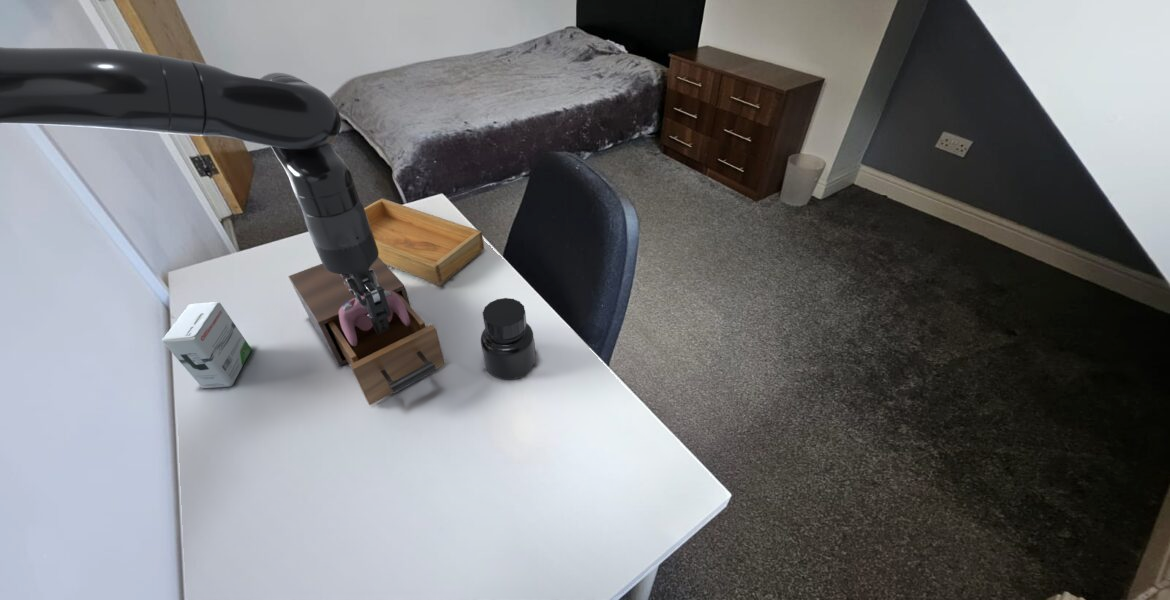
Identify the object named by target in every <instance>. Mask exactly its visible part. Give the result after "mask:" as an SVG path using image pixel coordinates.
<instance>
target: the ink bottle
mask: <svg viewBox="0 0 1170 600" xmlns="http://www.w3.org/2000/svg"><path fill="white" fill-rule="evenodd" d="M482 319H483V325H484V329H483V331H482V333H481V336H480V345H481V351H482V356H483V361H484V367H485V370H487V372H488V373H489V374H490V375H491V376H493V377H495V378H498V379H503V380H515V379H519V378H521V377H524V376H525V375H526V374H528V373H529V372H530V371H531V369H533V367H534V365H535V361H536V343H535V335H534V331H533V328H532V327H531V326H530V325H529V323H527V316H526V309H525V305H524V304H522V302H521V301H520V300H517V299H515V298H508V297H503V298H496V299H495V300H492V301H490V302H489V303H488V304H487V305H486V306H484V308H483V311H482Z"/></svg>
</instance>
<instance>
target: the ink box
mask: <svg viewBox="0 0 1170 600" xmlns="http://www.w3.org/2000/svg"><path fill="white" fill-rule="evenodd" d="M161 342H162V343H163V344H164V345H165V347H166V348H167V349H168V350H169V351H170V352H171V354H172V355H173V356H174V357H175V358H176V360H177V361H178V362H179V363H180V364H181V365H182V367H184V369H185V370H186V371H187V373H189V375H190V376H191V377H192V378H193V379H194V380H195V381H196V383H197V384H198V385H199V386H200V388H202V389H212V388H213V389H214V388H226V387H232V386H233V385H234V383H235V382H236V379H237V378H238V376H239V374H240V372H241V370H242V368H243V366H244V364H245V363H246V361H247V359H248V357H249V355H250V354H251V352H252V347H251V346H250V344H249V342H248V341H247V340H246V339H245V337H244V335H243V334H242V333H241V331H240V330H239V328H238V327H237V325H236V324H235V322H234V321H233V320H232V318H231V316H230V315H229V314H228V312H227V311H226V309H225V308H224V306H223V305H222V304H221V302H219V301H209V302H199V303H198V302H197V303H189V304H188V305H187V306H186V308H184V310H183V312H182V313H181V314H180V316H179V317H178V318H177V319H176V321H175V322H174V323H173V325H172V326H171V327H170V329H169V330H168V331H167V333H166V334H165V335H164V337H162V339H161Z"/></svg>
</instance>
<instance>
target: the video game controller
mask: <svg viewBox="0 0 1170 600" xmlns="http://www.w3.org/2000/svg"><path fill="white" fill-rule="evenodd" d="M384 293H385V297H386V300H387V303H388V307H389V310H390V312H391V313H390V314H391V316H389V317H387V319H388V321H389V322H390V321H391V320H392V315H393V312H395V313H396V314H397V315H398V316H399V318H400V319H401V321H402V322H403V323H404V324H405V325H406V326H409V325H410V319H409V315H408V313H407V310H406V307H405V305H404V304H403V302H402V300H401V299H400V297H399V295H398V294H397V293H395V292H393V291H390V290H386V291H384ZM361 298H362V299H365V298H364V296H361ZM365 314H367V311H366V309H365V307H364V306H361V305H360V304H359V303H358V301H357V299H356V297H355V298H354V299H352V300H350V301H349V302H347V303H345V304H344V305H343V306H342V307H341V308H340V310H339V321H340V325H341V328H342V330H343V332H344V334H345V336H346V338H347V340H348V341H349V343H350V344H351V345H352V346H357V335H356V331H355V326H357V327H358V328H360V329H361V330H363V331H367V330H369V329H371V328H372V326H373V324H372V322H371V319H370V318H369V317H368V316H367V315H365Z"/></svg>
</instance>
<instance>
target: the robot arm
mask: <svg viewBox="0 0 1170 600" xmlns="http://www.w3.org/2000/svg"><path fill="white" fill-rule="evenodd" d="M334 102H335V101H333V100H332V98H331V97H329V96H328V95H327V94H326V93H325V92H324V91H322V90H321V89H319V88H317V87H316V86H314V85H312V84H310V83H308V82H307V81H304V80H303V79H301V78H299V77H297V76H295V75H292V74H289V73H285V72H271V73H267V74H265V75H263V76H261V77H260V78H257V77H250V76H245V75H244V76H243V75H239V74H235V73H232V72H229V71H228V70H225V69H222V68H220V67H217V66H214V65H211V64H207V63H203V62H198V61H193V60H188V59H182V58H176V57H170V56H165V55H159V54H153V53H149V52H148V53H147V52H142V51H136V50H135V51H134V50H127V49H118V48H117V49H116V48H104V47H103V48H102V47H4V46H3V47H1V46H0V124H3V125H4V124H6V125H7V124H8V125H9V124H10V125H40V126H41V125H43V126H61V127H80V128H95V129H96V128H97V129H108V130H109V129H111V130H123V131H133V132H134V131H135V132H148V133H159V134H169V135H170V134H171V135H185V136H194V137H195V136H199V137H221V138H228V139H234V140H239V141H242V142H248V143H252V144H253V143H254V144H258V145H264V146H269V147H270V148H271V149H272V151H273V153H274V155H275V156H276V158H277V160H278V161H279V162H280V164H281V165H282V167H283V169H284V171H285V173H286V176H287V177H288V179H289V182H290V186H291V188H292V191H293V193H294V196H295V198H296V200H297V203H298V205H299V207H300V209H301V212H302V215H303V220H304V223H305V226H306V229H307V232H308V234H309V236H310V238H311V241H312V243H313V245H314V247H315V250H316V252H317V255H318V257H319V259H320V261H321V264H323V266H324V267H325V268H326V269H327V270H328V271H330V272H332V273H336V274H340V276H341V277H342V279H343V282H344V284H345V286H346V287H347V289H349V292H350V293H351V294H353V297H354V298H355V297H356V299H357V301H358V303H359V304H360V305H361V306H364V307H365V309H366V311H367V313H368V317H369V318H370V319H371V322H372V324H373V327H374V330H375V332H376V333H377V334H378V335H380V334H383V333H385V332H387V331H389V330H390V328H391V327H390V324H389V321H388V319H387V317H389V316H391V314H390V313H391V312H390V310H389V307H388V303H387V300H386V297H385V293H384V289H383V288H382V287H381V286H379V285H378V283H377V277H376V275H375V272H374V271H373V269H370V270H369V268H370V267H371V265H372V264H373V263H374V262H375V261H376V260H377V258H378V254H379V252H378V248H377V245H376V242H375V239H374V236H373V233H372V230H371V227H370V224H369V221H368V218H367V215H366V212H365V210H364V208H365V207H364V206H363V203H362V202H361V199H360V197H359V195H358V191H357V188H356V186H355V182H354V180H353V176H352V174H351V171H350V169H349V166H348V165H347V163H346V162H345V160H343V158H342V157H341V156H340V155H339V154H338V153H337V152H336V150H335V149H334V147H333V145H332V143H333V142H334V141H335V140H336V139H337V137H338V136H339V134H340V131H341V128H342V127H341V126H342V118H341V114H340V111H339V109H338V107H337V105H336V104H335V103H334ZM361 296H364V298H365V299H362V298H361Z"/></svg>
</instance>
